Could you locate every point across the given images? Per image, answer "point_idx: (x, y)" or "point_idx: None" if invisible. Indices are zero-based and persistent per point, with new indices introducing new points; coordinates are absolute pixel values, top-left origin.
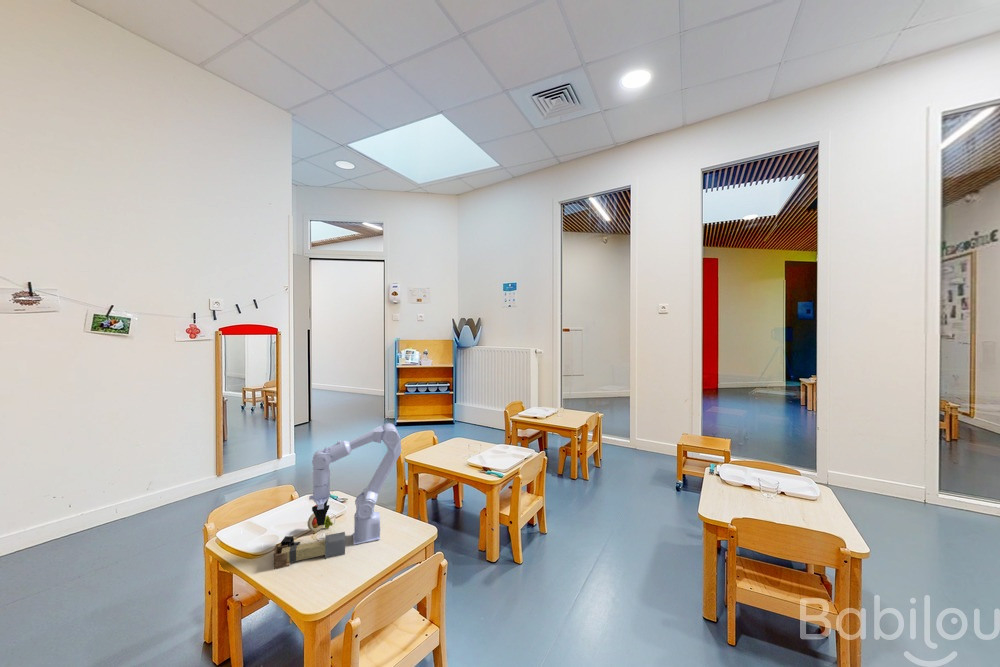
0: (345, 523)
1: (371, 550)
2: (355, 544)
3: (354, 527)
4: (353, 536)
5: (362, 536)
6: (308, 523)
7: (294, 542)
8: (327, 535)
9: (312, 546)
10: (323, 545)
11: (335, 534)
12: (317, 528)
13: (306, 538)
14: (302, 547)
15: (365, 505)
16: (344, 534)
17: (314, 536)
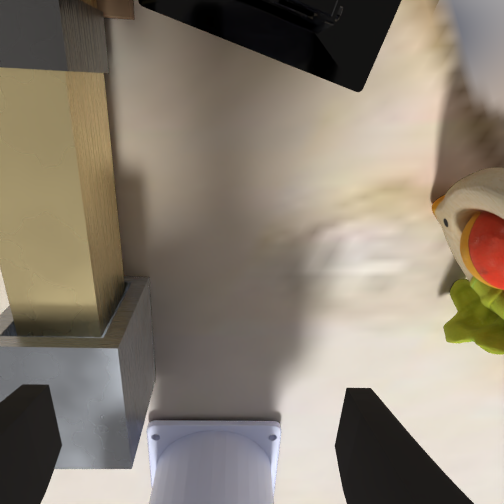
0: (445, 386)
1: (68, 481)
2: (149, 427)
3: (206, 502)
4: (234, 427)
5: (151, 492)
6: (501, 182)
7: (377, 37)
8: (112, 361)
9: (7, 229)
10: (15, 313)
11: (109, 414)
12: (454, 235)
13: (391, 141)
14: (4, 134)
15: None
16: (86, 466)
17: (387, 202)
